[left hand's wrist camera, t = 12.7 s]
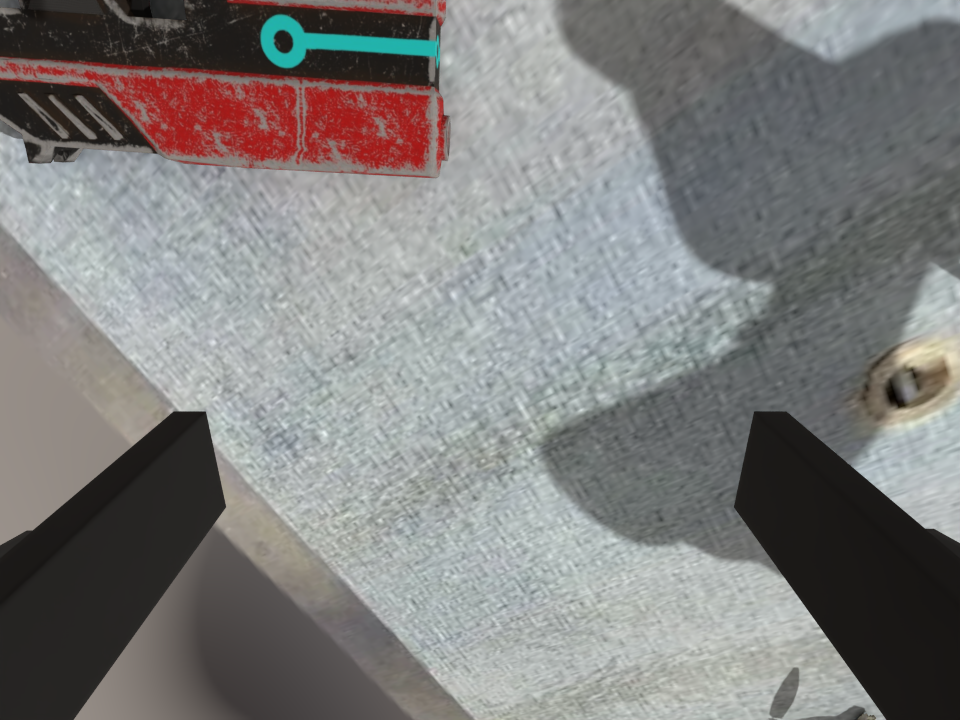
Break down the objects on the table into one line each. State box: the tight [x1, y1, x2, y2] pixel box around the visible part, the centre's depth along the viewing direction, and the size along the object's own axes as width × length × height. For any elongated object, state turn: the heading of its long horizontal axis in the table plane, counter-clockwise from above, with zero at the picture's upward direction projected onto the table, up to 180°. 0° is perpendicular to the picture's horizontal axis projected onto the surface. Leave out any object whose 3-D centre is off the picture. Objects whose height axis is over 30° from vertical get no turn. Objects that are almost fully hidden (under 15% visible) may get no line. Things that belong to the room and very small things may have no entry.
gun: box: [0, 0, 450, 178], centre depth 34 cm, size 4×31×19 cm
